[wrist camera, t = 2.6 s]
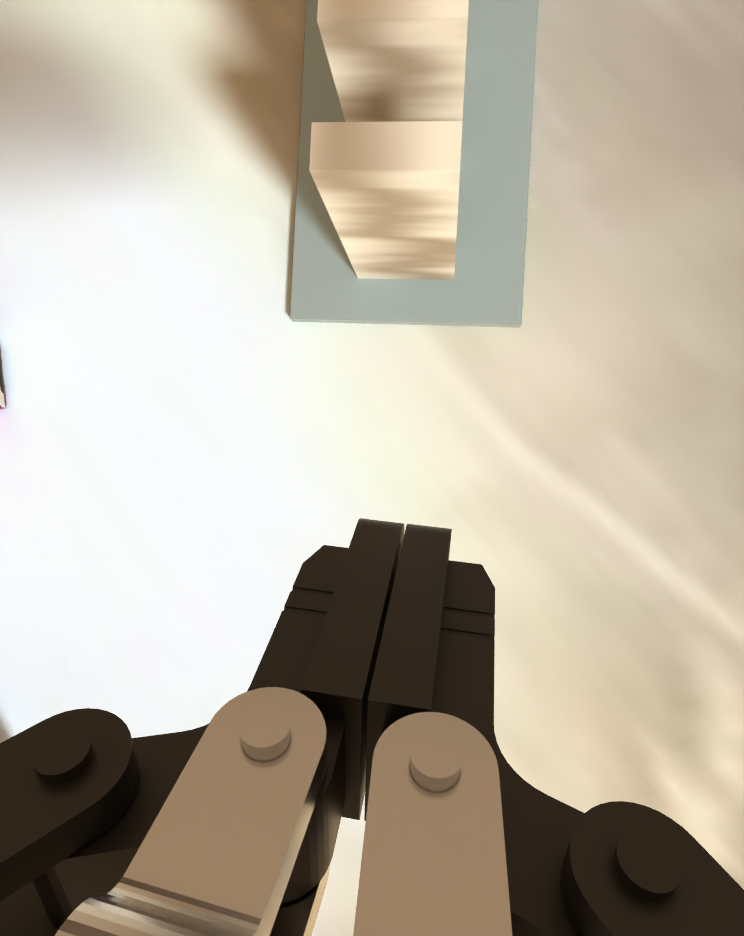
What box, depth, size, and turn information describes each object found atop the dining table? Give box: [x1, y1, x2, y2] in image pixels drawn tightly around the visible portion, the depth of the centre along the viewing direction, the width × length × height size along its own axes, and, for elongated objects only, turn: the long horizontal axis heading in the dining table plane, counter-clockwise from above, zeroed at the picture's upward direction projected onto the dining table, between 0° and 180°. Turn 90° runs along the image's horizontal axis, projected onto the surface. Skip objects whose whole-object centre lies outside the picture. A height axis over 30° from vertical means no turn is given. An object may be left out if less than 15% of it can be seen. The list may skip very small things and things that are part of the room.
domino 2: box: [309, 121, 463, 280], centre depth 27 cm, size 5×2×12 cm, turn 87°
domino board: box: [290, 0, 538, 327], centre depth 33 cm, size 12×26×1 cm, turn 177°
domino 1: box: [317, 0, 469, 122], centre depth 27 cm, size 5×2×12 cm, turn 87°
